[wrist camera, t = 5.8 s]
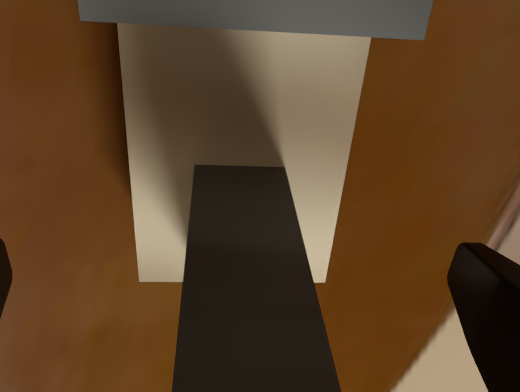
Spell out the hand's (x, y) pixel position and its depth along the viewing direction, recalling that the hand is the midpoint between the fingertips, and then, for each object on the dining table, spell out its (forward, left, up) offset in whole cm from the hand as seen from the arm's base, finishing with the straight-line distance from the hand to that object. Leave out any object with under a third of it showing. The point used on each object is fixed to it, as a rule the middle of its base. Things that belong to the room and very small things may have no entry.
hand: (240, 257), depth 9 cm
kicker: (+2, 0, -4) cm, 4 cm away
